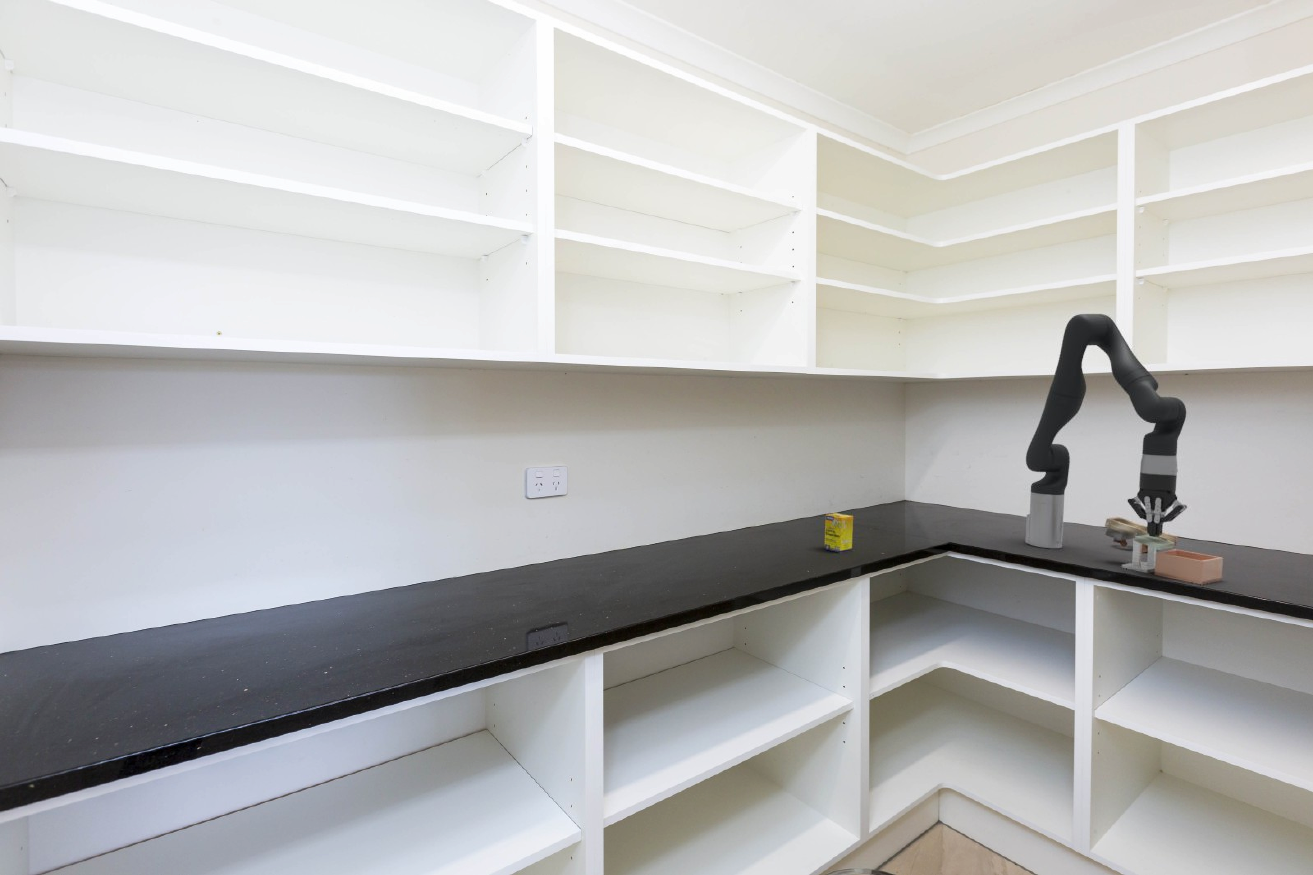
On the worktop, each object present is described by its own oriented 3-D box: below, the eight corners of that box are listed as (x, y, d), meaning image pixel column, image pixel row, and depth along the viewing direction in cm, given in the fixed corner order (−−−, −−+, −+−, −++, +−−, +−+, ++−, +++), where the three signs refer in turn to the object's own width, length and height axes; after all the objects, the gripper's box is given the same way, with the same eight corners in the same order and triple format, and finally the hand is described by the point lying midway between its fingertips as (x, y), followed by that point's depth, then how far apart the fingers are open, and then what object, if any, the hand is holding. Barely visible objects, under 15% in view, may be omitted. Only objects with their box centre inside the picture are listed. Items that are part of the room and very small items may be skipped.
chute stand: (1121, 567, 169) (1123, 531, 168) (1141, 563, 173) (1143, 528, 173) (1146, 573, 163) (1148, 535, 163) (1166, 569, 168) (1168, 532, 168)
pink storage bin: (1154, 574, 162) (1155, 552, 162) (1174, 570, 166) (1175, 549, 166) (1202, 584, 153) (1203, 561, 152) (1221, 580, 157) (1222, 557, 157)
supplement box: (824, 549, 186) (825, 514, 185) (836, 547, 189) (837, 512, 189) (840, 553, 181) (841, 517, 180) (852, 551, 184) (853, 515, 184)
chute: (1088, 535, 172) (1093, 520, 171) (1114, 532, 178) (1118, 517, 177) (1155, 561, 157) (1161, 544, 156) (1181, 556, 163) (1187, 540, 162)
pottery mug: (1133, 555, 187) (1119, 530, 190) (1116, 561, 195) (1103, 537, 199) (1172, 546, 186) (1157, 521, 190) (1153, 553, 195) (1139, 529, 198)
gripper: (1122, 469, 164) (1118, 532, 165) (1181, 475, 152) (1177, 542, 153) (1137, 469, 167) (1133, 530, 168) (1196, 474, 155) (1192, 540, 156)
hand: (1154, 536), depth 161 cm, fingers closed
